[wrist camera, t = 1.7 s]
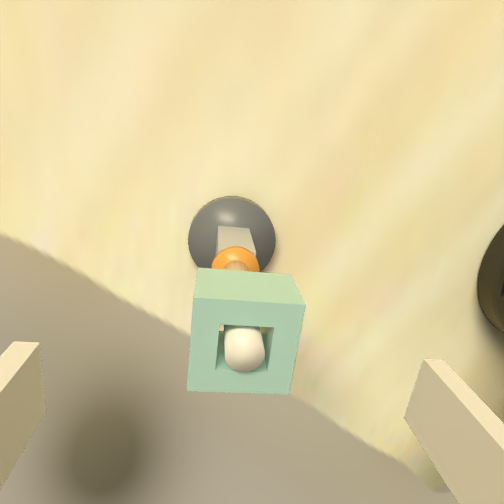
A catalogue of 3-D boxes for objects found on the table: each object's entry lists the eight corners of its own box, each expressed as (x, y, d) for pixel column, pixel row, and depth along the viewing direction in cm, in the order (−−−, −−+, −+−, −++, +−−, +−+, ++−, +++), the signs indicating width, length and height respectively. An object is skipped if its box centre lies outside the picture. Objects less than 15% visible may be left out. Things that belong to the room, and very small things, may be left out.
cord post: (279, 200, 28) (344, 283, 13) (267, 279, 30) (312, 423, 16) (191, 191, 27) (160, 270, 13) (186, 273, 29) (155, 420, 15)
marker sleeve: (291, 274, 17) (305, 304, 14) (277, 352, 18) (288, 394, 15) (197, 267, 16) (193, 297, 13) (191, 348, 18) (186, 391, 15)
